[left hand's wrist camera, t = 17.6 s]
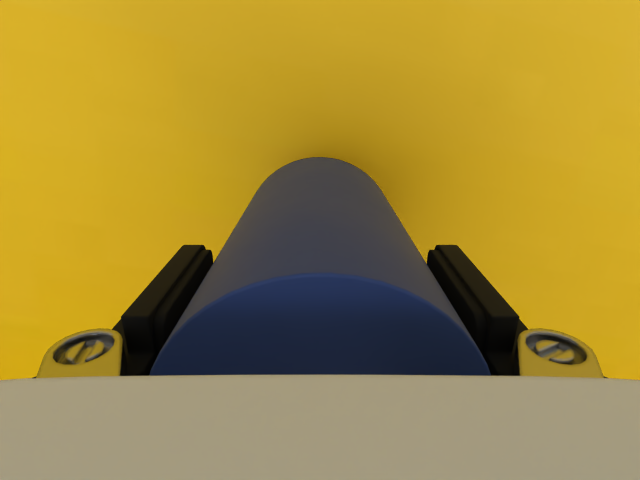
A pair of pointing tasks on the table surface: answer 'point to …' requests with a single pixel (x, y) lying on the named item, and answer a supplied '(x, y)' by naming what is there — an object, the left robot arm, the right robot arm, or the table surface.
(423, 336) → the can
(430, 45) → the table surface
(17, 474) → the left robot arm
